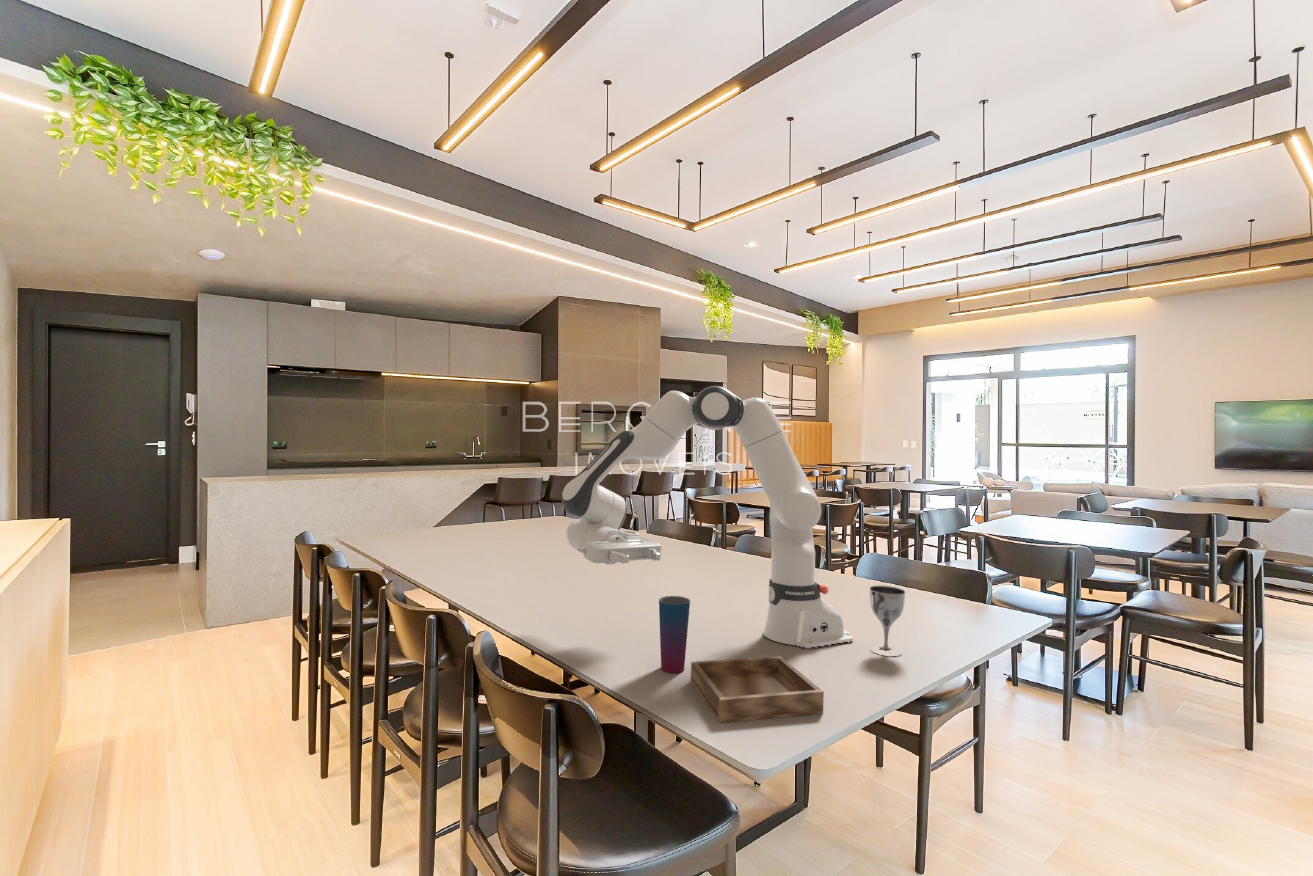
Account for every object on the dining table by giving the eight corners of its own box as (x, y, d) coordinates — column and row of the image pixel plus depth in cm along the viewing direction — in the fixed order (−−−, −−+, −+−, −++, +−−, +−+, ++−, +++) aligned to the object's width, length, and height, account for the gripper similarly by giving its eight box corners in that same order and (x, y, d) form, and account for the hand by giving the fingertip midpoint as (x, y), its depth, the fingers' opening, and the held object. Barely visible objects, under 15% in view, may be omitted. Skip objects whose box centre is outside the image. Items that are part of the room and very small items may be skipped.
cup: (685, 676, 122) (687, 605, 122) (654, 673, 123) (656, 602, 123) (690, 664, 129) (692, 597, 129) (660, 661, 130) (662, 594, 130)
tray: (780, 675, 124) (780, 656, 124) (823, 713, 107) (823, 691, 107) (690, 681, 120) (691, 661, 120) (720, 722, 102) (720, 700, 102)
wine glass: (862, 646, 144) (864, 585, 144) (893, 645, 145) (894, 585, 145) (877, 657, 136) (879, 593, 136) (910, 657, 137) (911, 594, 137)
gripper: (575, 534, 140) (607, 547, 129) (641, 532, 153) (676, 543, 142) (572, 560, 140) (604, 575, 129) (639, 555, 153) (673, 568, 142)
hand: (642, 558), depth 136 cm, fingers open, 8 cm apart
